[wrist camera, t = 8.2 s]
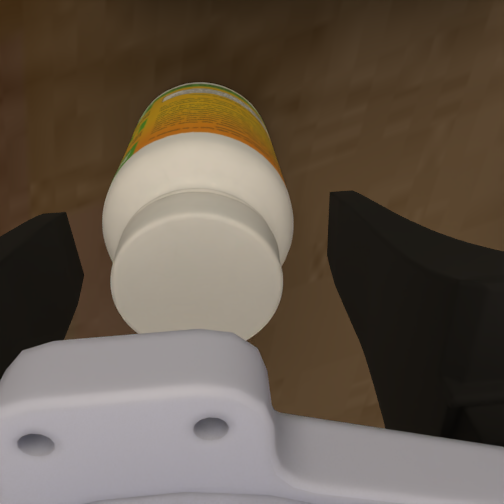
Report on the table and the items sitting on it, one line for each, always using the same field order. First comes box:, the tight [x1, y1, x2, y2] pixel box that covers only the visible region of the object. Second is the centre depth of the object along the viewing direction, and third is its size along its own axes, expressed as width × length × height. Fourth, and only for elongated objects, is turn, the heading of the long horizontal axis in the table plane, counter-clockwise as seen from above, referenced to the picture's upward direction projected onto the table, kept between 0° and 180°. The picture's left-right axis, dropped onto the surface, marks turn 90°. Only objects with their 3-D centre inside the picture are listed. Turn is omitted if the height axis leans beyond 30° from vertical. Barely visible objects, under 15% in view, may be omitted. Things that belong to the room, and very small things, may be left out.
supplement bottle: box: [102, 82, 293, 341], centre depth 15 cm, size 5×5×10 cm
